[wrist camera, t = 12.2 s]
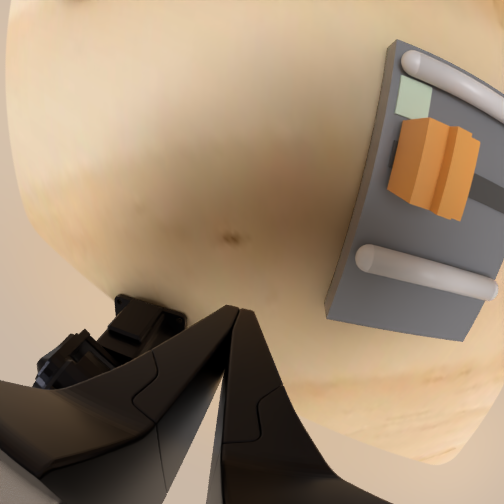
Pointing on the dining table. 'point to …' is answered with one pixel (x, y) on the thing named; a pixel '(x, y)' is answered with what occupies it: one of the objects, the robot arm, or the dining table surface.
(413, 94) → the switch panel
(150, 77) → the dining table surface
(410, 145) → the breaker handle
